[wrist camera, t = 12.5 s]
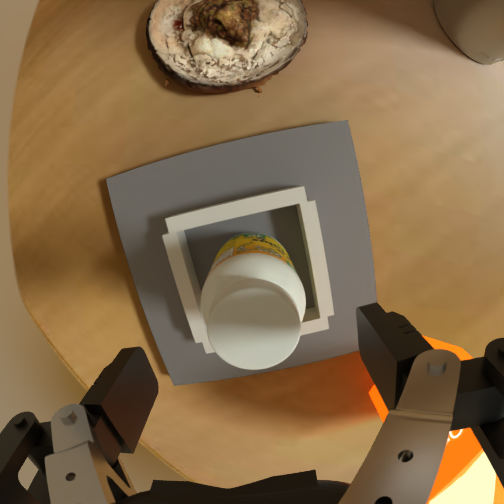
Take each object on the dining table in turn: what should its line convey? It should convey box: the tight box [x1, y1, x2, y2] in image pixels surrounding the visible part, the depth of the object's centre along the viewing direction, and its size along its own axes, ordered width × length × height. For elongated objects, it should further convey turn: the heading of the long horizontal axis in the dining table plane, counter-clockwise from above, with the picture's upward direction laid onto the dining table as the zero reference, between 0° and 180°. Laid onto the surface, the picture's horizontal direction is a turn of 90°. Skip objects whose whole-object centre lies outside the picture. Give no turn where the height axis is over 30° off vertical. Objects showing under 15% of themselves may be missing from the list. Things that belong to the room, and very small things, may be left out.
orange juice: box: [369, 335, 504, 504], centre depth 16 cm, size 8×9×20 cm
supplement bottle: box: [201, 232, 306, 370], centre depth 17 cm, size 5×5×10 cm
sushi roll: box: [146, 0, 308, 97], centre depth 17 cm, size 15×15×4 cm
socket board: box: [106, 120, 377, 386], centre depth 22 cm, size 18×18×4 cm
